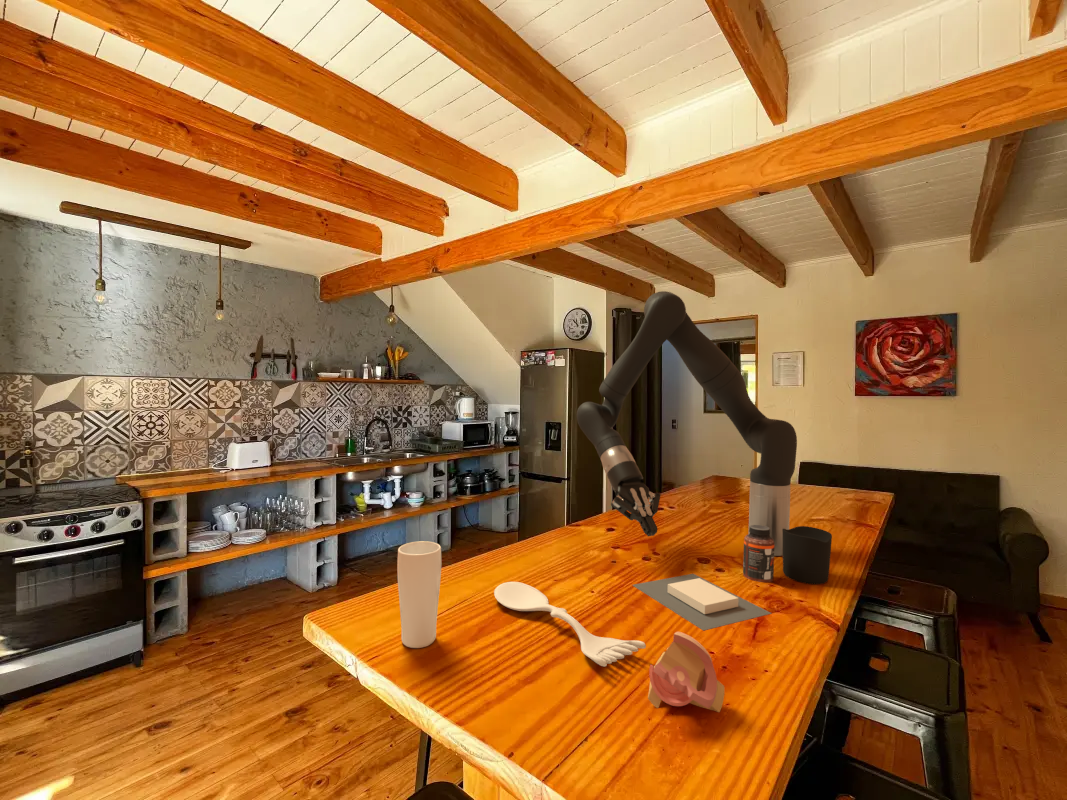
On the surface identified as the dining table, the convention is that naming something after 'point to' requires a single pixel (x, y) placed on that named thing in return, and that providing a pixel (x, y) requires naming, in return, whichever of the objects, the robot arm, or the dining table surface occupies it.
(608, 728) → the dining table surface
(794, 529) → the pen holder
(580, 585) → the dining table surface
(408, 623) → the drinking glass
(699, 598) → the tile
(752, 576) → the supplement bottle
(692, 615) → the mat
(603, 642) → the spoon
